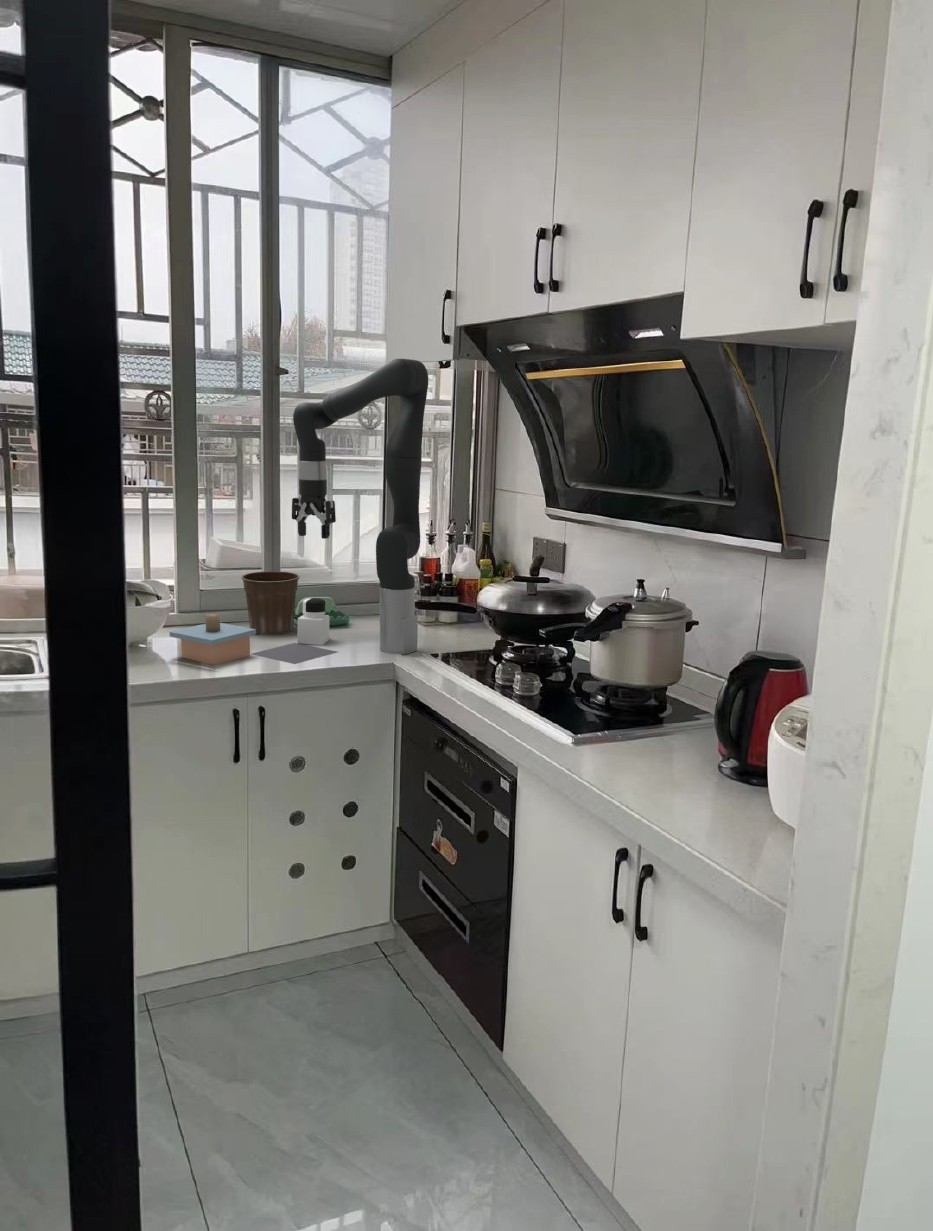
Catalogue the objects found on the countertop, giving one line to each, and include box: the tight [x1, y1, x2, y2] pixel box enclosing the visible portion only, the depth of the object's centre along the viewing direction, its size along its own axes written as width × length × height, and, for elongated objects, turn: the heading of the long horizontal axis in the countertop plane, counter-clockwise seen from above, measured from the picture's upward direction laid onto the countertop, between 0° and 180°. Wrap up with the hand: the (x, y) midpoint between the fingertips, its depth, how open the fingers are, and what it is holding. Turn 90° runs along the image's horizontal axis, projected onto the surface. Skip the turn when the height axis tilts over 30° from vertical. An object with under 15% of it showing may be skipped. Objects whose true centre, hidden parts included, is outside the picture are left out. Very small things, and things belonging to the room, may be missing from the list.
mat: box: [251, 642, 338, 665], centre depth 252 cm, size 16×16×1 cm
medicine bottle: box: [296, 597, 331, 646], centre depth 264 cm, size 7×7×12 cm
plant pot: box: [241, 570, 301, 636], centre depth 276 cm, size 16×16×16 cm
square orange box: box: [180, 635, 251, 666], centre depth 247 cm, size 12×12×6 cm
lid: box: [168, 613, 257, 645], centre depth 245 cm, size 15×15×5 cm
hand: (313, 537), depth 266 cm, fingers open, 8 cm apart
